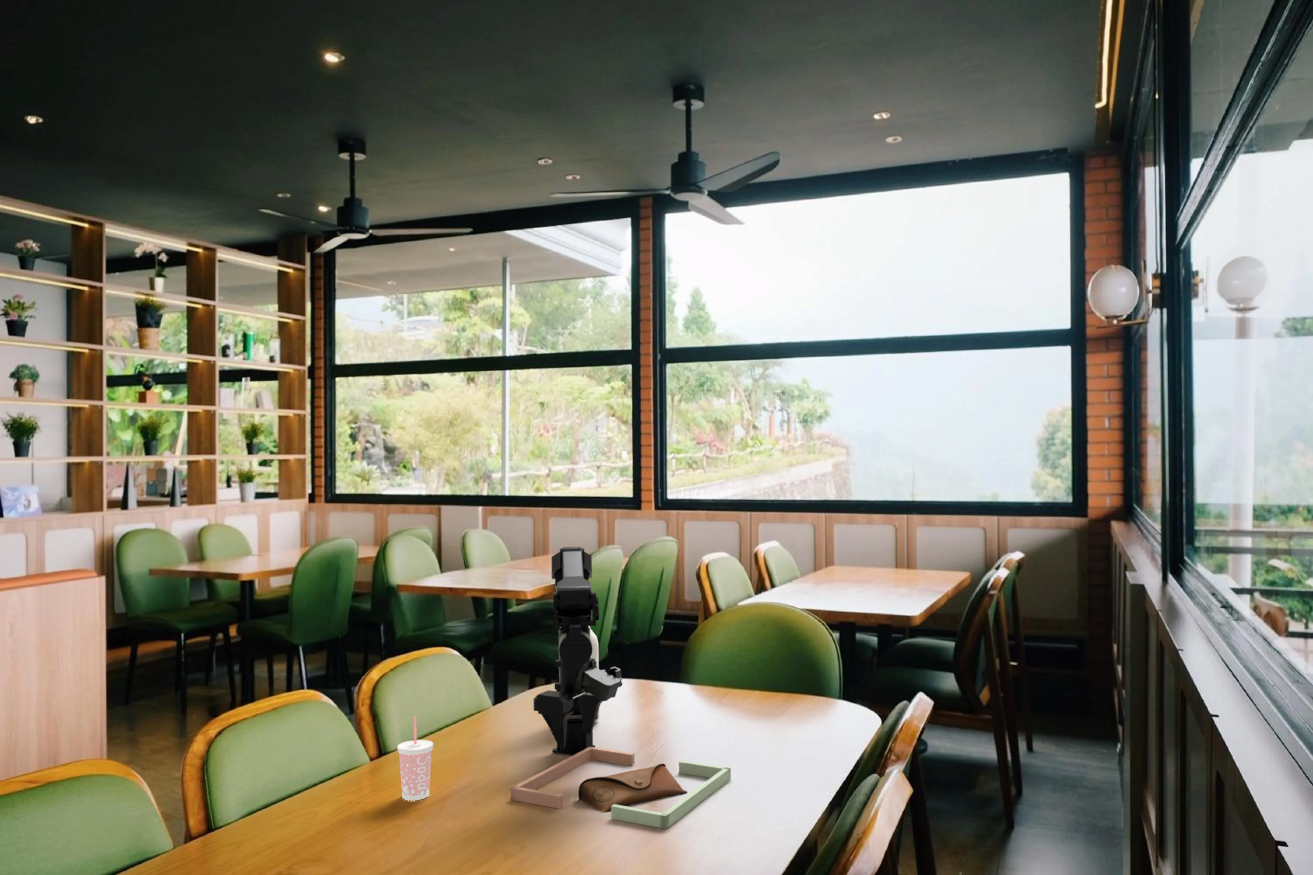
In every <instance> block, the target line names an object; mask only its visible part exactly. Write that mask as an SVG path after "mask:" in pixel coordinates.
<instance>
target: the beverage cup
mask: <svg viewBox="0 0 1313 875" xmlns="http://www.w3.org/2000/svg"><path fill="white" fill-rule="evenodd" d="M417 722H418V721H417V715H413V740H407V741H404V742H400V743H399V744H398V745H397V753H399V755H398V756H399V767H400V768H399V769H400V770H399V771H400V780H401V783H400V784H401V796H402V797H401V799H402V798H403V799H405V800H408V801H407V802H416V801H415V800H420V799H424V798H426V797H428V796H430V789H431V788H430V787H431V786H430V785H431V784H430V783H431V770H432V769H431V768H432V767H431V765H432V751H433V749H434V743H433V741H431V740H428V739H417V737H418V736H417V735H418V734H417V731H418V730H417ZM428 798H429V797H428ZM403 799H402V800H403ZM426 799H427V798H426ZM405 800H404V801H405ZM409 800H411V801H409ZM412 800H413V801H412ZM424 800H425V799H424ZM420 801H421V800H420Z"/></svg>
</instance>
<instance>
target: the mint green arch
mask: <svg viewBox="0 0 1313 875" xmlns="http://www.w3.org/2000/svg"><path fill="white" fill-rule="evenodd" d="M678 773H679V774H682V775H683V774H685V775H691V776H698V777H705V778H709V779H707V780H706V781H705V782H704V783H702V784H701V785H700V786H698V787H696V788H695V789H694V790H692V791H691V792H690V793H689V794H687V795H686V796H684V797H683V798H682V799H680V800H679V801H677V802H676V803H675V804H673V805H672V806H671V807H669V808H668V809H666V810H665V811H663V812H659V811H653V810H649V809H642V808H639V807H631V806H621V805H616V804H614V805H612V806H611V811H610V814H611V815H610V816H611V817H610V818H611V819H612V820H616V821H617V820H618V821H622V822H627V823H628V822H629V823H633V824H637V825H641V826H642V825H643V826H648V827H655V828H660V829H665V830H666V829H668V828H669V827H670V826H672V825H673V824H674V823H676V822H677V821H679V819H680V820H681V818H682V817H684V816H685V815H686V814H687V813H689V812H690V811H691V810H692V809H694V808H695V807H696V806H698V805H699V804H701V803H702V802H703V801H704V800H706V799H707V798H708V797H709V796H711V795H712V794H713V793H715V792H716V791H717V790H718V789H719V788H721V787H723V785H726V783H728V782H729V781H730V780H732V779H731V778H732V775H731V773H732V771H731V767H727V766H721V765H713V764H707V763H700V762H694V761H686V760H680V761H678ZM710 794H711V795H710ZM701 801H702V802H701Z"/></svg>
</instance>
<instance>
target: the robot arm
mask: <svg viewBox="0 0 1313 875" xmlns="http://www.w3.org/2000/svg"><path fill="white" fill-rule="evenodd" d="M550 560H551V580H554V587H555V588H554V589H555V590H556V591H553V593H552V594H553V595H552V597H553V599H552V600H553V604H552V605H553V627H554V628H559V629H558V659H557V660H553V661H554V662H553V663H554V664H553V666H554V667H555V668H558V676H559V677H558V678H557V680H556V683H554V690H549V689H548V690H545V691H543V692H540V693H539V694H537V695H536V696H535V697H534V698H533V711H535V712H537V714H538V715H541V716H542V718H543V720H544V721H545V723H546V724H547V727H548V728H549V730H550V733H551V734H552V736H553V738H554V741H555V742H556V747H555V748H553V749H551V750H552V753H554V754H555V753H556V754H562V755H568V756H573V755H575V754H577V753H579V752H581V751H583V750H584V749H586V748H588V747H595V748H596V745H595V744H594V737H593V736H594V734H593V733H594V731H593V730H594V728H595V727H594V726H595V725H596V724H595V720H596V719H598V710H599V711H600V707H601V704H602V703H603V702H608V700H610V699H612V698H615V697H616V695H617V692H618V689H619V688H621V687H623V682H622V670H621V669H620V668H619V667H616V666H613V667H612V666H611V667H610V668H608V669H607V670H606V669H600V668H599V669H597V667H596V661H595V659H593V658H590V657H591V655H592V643H591V639H590V629H591V627H594V626H597V621H599V620H600V606H599V596H597V592H596V591H594V590H592V585H591V581H589V579H592V577H593V564H592V562H593V559H592V555H590V554H589V553H587V552H586V551H585V547H582V546H563V547H562V548H559V552H557V553H555V554H554V555H552V556H551V558H550ZM557 619H558V620H557ZM589 626H590V628H589ZM598 720H599V719H598Z"/></svg>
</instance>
